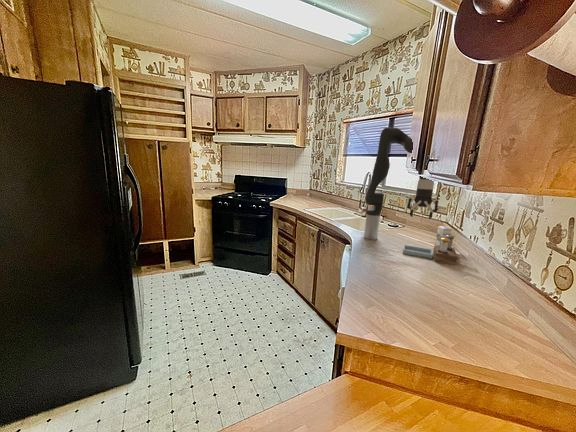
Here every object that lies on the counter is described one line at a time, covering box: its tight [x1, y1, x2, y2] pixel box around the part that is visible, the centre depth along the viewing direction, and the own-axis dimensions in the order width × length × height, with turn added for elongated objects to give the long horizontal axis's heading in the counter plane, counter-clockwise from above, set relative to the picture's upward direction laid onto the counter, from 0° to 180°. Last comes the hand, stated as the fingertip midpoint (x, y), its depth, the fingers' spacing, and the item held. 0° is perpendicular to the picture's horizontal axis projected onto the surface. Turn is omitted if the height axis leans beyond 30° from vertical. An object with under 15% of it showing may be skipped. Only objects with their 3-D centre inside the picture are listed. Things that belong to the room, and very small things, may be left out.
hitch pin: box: [440, 238, 450, 254], centre depth 139 cm, size 4×4×13 cm
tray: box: [402, 244, 434, 260], centre depth 149 cm, size 10×15×2 cm
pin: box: [446, 234, 455, 250], centre depth 144 cm, size 4×4×13 cm
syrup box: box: [434, 225, 453, 246], centre depth 158 cm, size 6×6×14 cm
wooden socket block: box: [432, 244, 458, 266], centre depth 142 cm, size 16×10×5 cm, turn 153°
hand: (420, 217), depth 133 cm, fingers open, 8 cm apart
